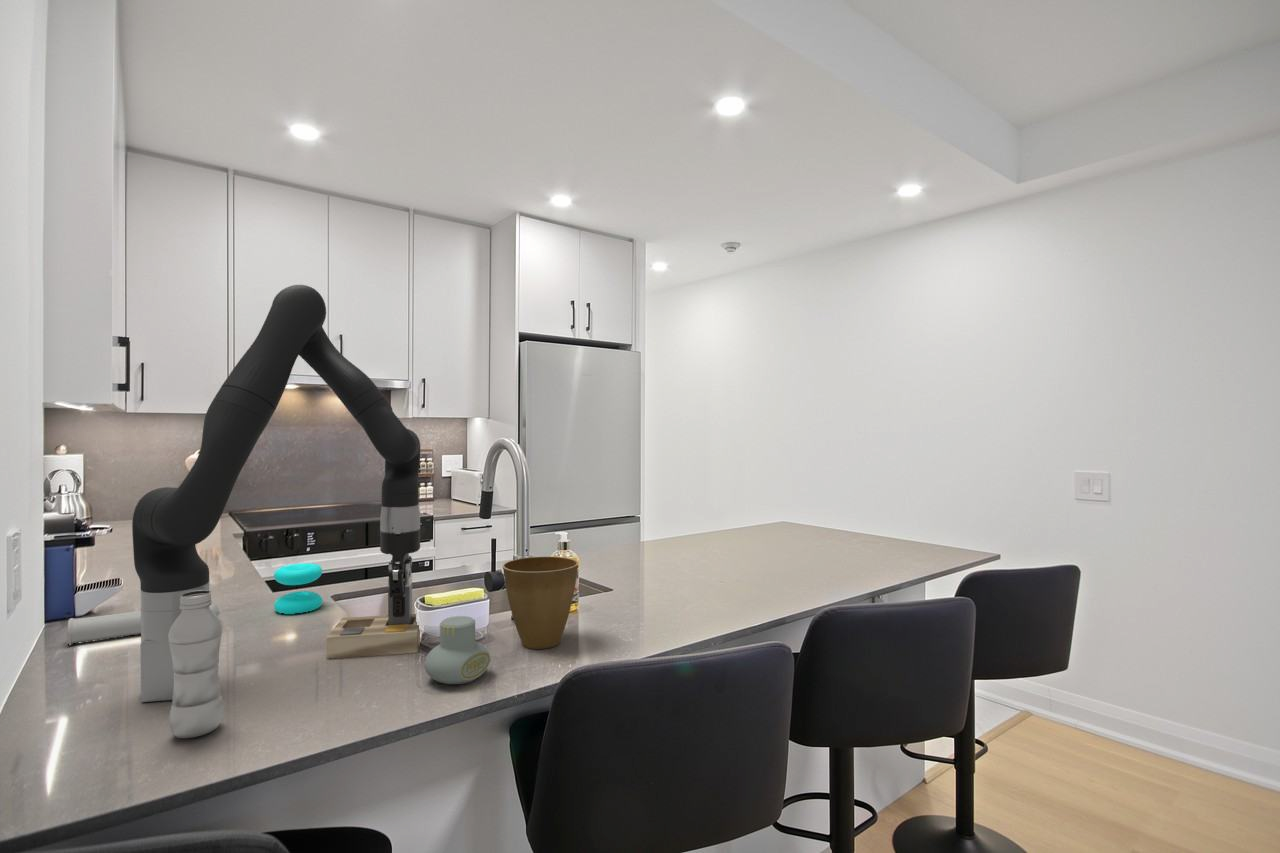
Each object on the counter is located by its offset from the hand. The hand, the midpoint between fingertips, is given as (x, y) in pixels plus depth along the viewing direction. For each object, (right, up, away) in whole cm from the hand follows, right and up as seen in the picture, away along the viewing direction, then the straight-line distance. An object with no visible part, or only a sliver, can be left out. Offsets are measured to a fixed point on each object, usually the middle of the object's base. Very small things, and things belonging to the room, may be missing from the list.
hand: (400, 612), depth 132 cm
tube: (-54, -6, +5) cm, 55 cm away
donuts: (-32, -6, +21) cm, 39 cm away
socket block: (-4, -6, -2) cm, 7 cm away
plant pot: (+28, -6, -1) cm, 29 cm away
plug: (0, -3, 0) cm, 3 cm away
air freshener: (+17, -6, -18) cm, 26 cm away
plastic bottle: (-15, -7, -38) cm, 42 cm away
